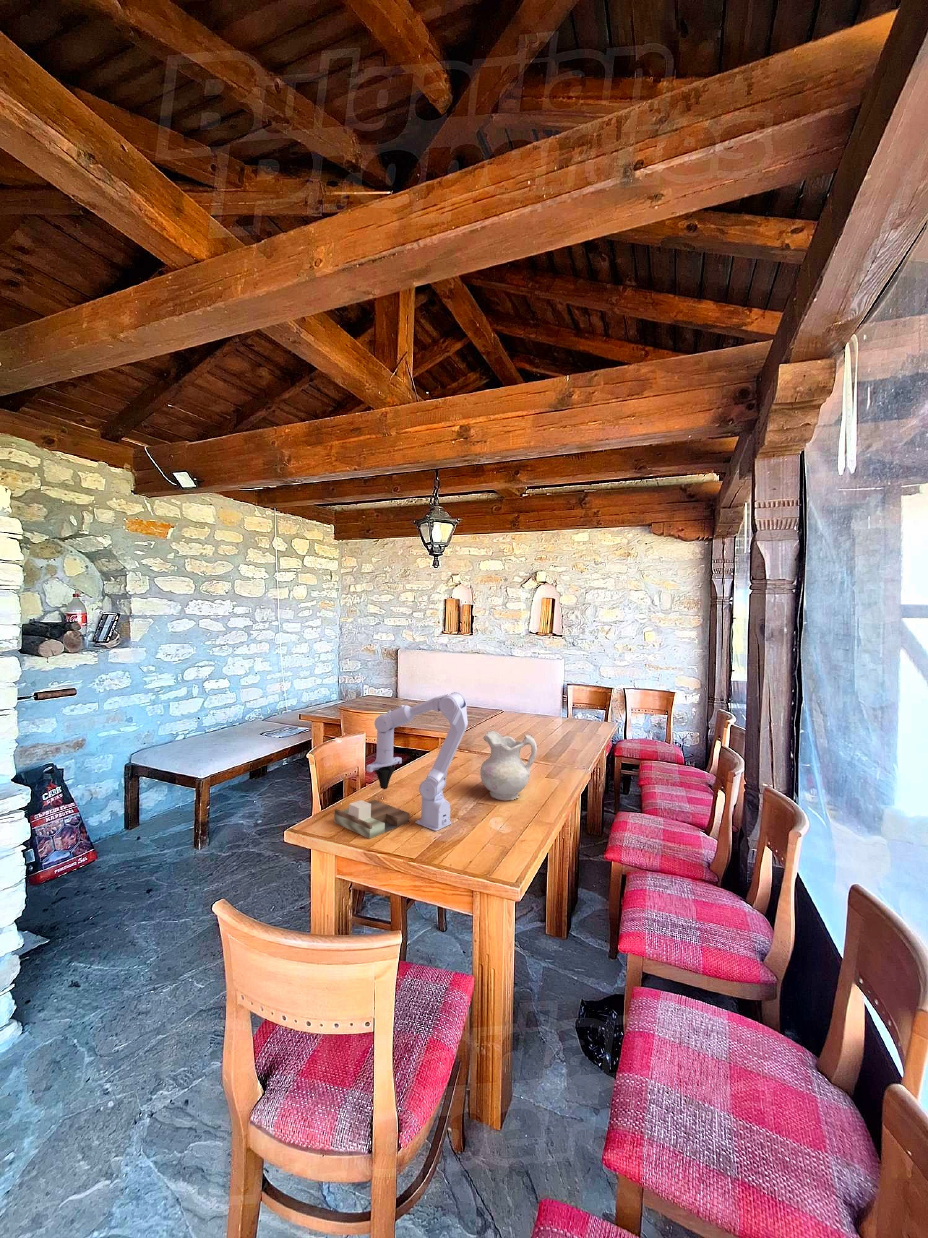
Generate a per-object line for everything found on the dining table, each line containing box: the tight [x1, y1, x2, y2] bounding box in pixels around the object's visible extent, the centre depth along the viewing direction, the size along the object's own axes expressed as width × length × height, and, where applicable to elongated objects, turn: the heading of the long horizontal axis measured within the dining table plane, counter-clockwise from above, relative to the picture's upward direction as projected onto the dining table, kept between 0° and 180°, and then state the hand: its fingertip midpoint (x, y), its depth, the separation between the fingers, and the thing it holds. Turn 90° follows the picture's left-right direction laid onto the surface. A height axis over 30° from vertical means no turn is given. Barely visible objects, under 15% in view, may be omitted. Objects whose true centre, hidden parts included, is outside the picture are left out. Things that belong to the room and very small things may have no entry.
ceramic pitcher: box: [479, 730, 538, 802], centre depth 191 cm, size 22×20×25 cm
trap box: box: [333, 799, 411, 840], centre depth 162 cm, size 18×17×4 cm
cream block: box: [348, 799, 371, 820], centre depth 158 cm, size 5×5×4 cm
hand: (383, 788), depth 168 cm, fingers closed
